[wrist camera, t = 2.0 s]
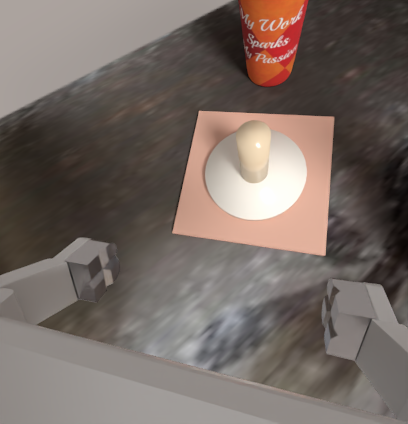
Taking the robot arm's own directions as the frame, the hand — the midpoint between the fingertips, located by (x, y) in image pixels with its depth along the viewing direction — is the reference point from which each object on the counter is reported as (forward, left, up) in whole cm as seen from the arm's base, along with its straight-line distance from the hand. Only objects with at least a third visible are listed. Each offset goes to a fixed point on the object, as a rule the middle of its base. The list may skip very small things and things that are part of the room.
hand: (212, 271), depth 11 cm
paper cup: (0, +28, -19) cm, 34 cm away
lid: (0, +13, -18) cm, 22 cm away
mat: (0, +13, -19) cm, 23 cm away
